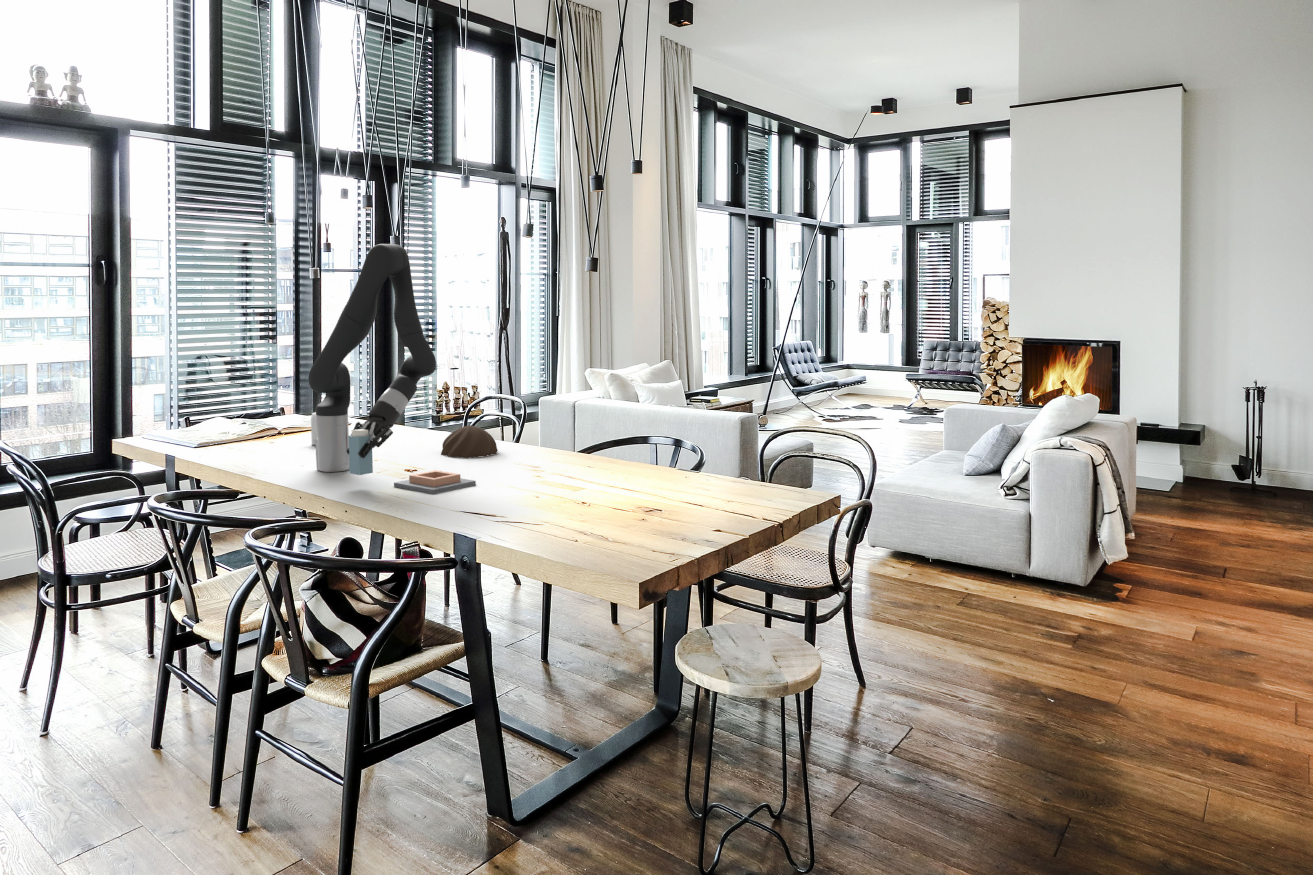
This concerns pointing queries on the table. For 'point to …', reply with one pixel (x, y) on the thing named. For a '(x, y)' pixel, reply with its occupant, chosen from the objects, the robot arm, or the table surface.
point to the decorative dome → (469, 443)
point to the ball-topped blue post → (355, 445)
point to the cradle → (434, 482)
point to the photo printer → (313, 428)
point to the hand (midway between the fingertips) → (355, 455)
